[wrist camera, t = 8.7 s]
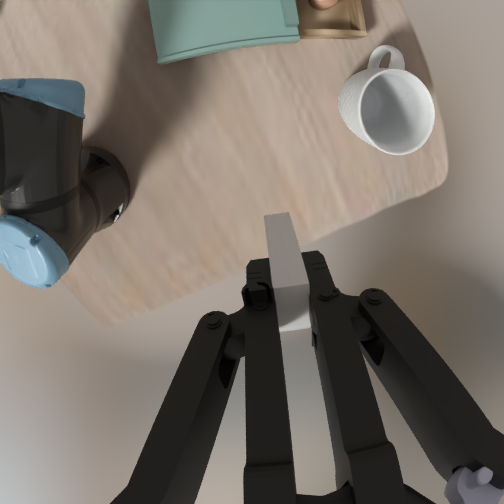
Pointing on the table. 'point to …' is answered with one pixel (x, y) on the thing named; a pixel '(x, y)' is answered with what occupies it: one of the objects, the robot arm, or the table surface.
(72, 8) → the table surface
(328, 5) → the peach egg shape
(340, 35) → the open brown box
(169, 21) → the lid
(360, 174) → the table surface
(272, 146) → the table surface
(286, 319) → the robot arm
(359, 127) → the mug
